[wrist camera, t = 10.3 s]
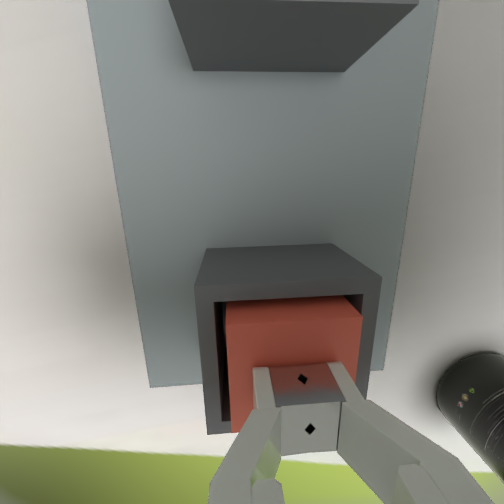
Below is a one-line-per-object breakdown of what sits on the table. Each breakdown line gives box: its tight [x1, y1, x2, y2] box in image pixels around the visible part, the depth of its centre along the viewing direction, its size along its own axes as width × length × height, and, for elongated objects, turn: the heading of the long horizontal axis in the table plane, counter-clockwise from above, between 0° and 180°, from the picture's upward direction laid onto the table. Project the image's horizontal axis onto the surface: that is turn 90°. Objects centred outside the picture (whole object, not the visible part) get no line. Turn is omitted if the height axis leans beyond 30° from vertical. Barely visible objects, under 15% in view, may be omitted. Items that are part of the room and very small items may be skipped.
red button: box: [226, 295, 363, 433], centre depth 11 cm, size 4×4×4 cm
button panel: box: [86, 0, 439, 435], centre depth 11 cm, size 24×14×8 cm, turn 1°
